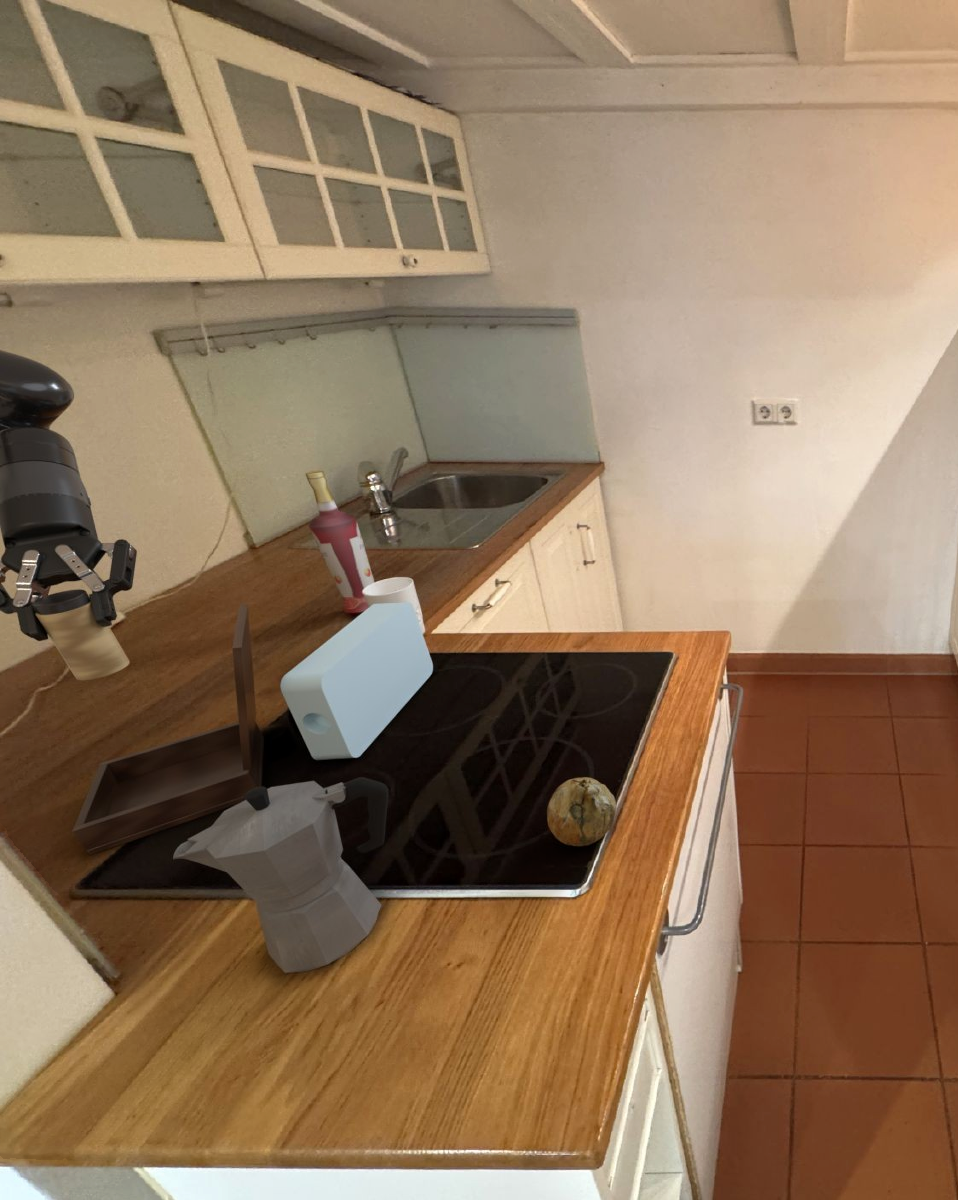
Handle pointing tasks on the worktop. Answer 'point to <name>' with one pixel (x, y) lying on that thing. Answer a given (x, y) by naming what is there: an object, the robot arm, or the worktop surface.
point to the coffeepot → (297, 867)
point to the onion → (581, 811)
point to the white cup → (394, 594)
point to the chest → (167, 787)
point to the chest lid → (244, 686)
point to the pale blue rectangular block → (358, 681)
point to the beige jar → (80, 635)
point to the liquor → (340, 546)
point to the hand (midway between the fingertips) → (72, 630)
